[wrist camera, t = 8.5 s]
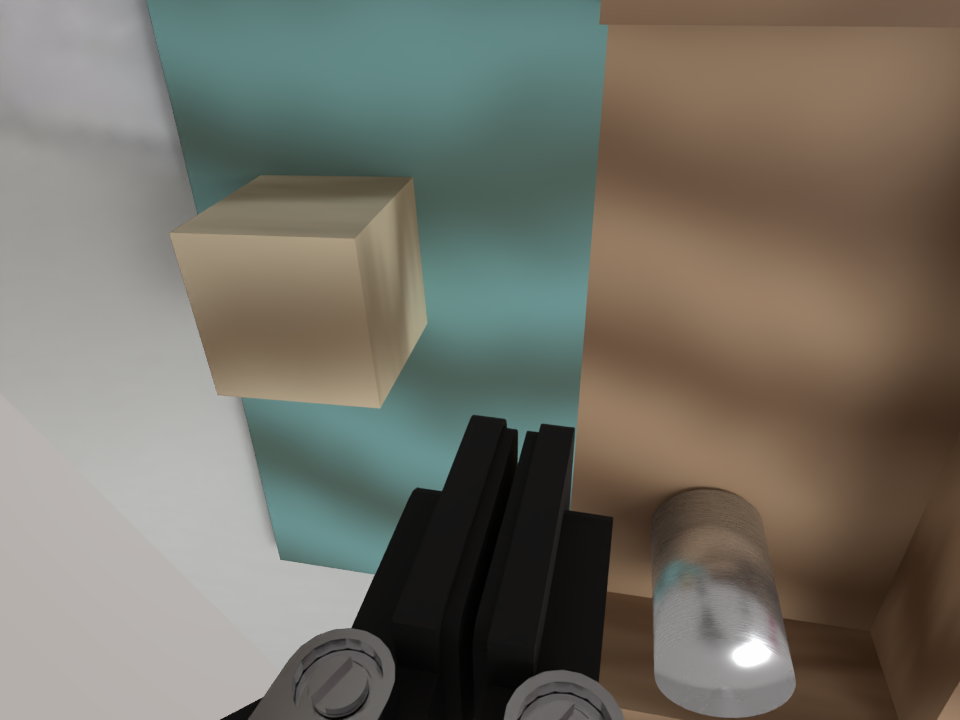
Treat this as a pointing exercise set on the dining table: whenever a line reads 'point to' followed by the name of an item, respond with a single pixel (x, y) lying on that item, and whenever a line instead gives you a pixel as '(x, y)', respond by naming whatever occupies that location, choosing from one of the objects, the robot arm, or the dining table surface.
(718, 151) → the cubby
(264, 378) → the birch block
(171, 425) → the dining table surface
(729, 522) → the steel peg
